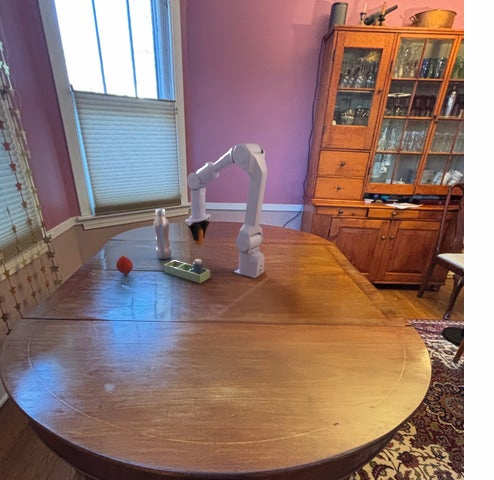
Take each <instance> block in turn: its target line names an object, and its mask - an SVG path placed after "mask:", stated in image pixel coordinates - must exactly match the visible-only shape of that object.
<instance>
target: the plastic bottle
mask: <svg viewBox="0 0 494 480" xmlns="http://www.w3.org/2000/svg"><path fill="white" fill-rule="evenodd" d="M155 216H156V217H155V218H154V220H153V228H154V233H155V240H156V248H155V254H156V258H158V259H160V260H168V259H170V258H171V257H172V249H171V245H170V244H171V243H170V222H169V220H168V218H167V217H166V209H164V208H159V209H158V208H157V209H155Z"/></svg>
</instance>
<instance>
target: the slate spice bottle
mask: <svg viewBox="0 0 494 480" xmlns="http://www.w3.org/2000/svg"><path fill="white" fill-rule="evenodd" d="M192 265H193V273H196V274H199V275H200V274H201V273H203V268H204V262H203V261H202V259H201V258H196V259H194V260H193V262H192Z"/></svg>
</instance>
